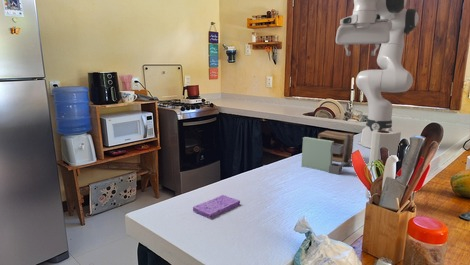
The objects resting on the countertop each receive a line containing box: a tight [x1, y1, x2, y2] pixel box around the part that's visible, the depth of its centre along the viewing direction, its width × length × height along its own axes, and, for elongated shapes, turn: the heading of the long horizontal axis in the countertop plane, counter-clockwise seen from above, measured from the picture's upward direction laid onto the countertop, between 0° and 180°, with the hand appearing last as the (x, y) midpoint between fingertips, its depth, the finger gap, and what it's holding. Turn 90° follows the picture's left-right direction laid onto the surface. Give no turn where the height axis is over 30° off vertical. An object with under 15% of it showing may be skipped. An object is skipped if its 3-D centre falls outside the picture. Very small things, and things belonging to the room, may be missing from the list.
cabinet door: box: [301, 136, 344, 176], centre depth 124 cm, size 4×16×12 cm, turn 52°
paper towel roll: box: [365, 130, 402, 199], centre depth 96 cm, size 7×6×21 cm
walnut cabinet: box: [317, 130, 355, 168], centre depth 137 cm, size 14×16×13 cm
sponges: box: [192, 194, 241, 219], centre depth 91 cm, size 7×13×2 cm, turn 138°
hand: (360, 55), depth 128 cm, fingers open, 8 cm apart
